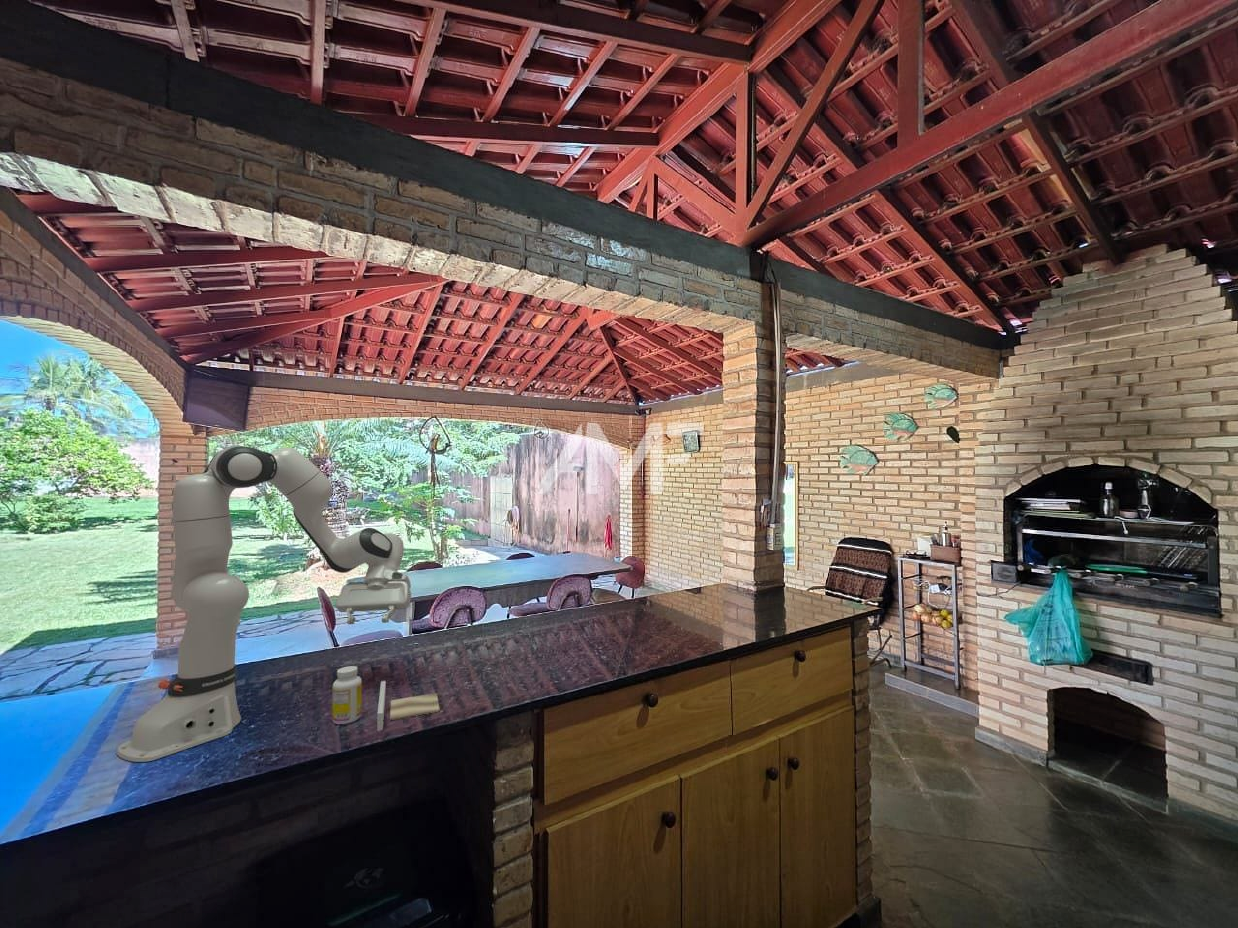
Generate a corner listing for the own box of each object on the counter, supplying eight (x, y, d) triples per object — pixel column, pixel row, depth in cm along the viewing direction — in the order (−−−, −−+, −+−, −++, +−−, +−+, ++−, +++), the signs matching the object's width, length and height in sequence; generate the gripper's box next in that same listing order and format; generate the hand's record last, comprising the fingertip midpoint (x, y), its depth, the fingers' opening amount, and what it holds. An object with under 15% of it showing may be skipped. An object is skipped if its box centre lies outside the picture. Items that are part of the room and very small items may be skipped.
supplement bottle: (354, 711, 131) (355, 662, 131) (365, 718, 127) (366, 668, 127) (327, 720, 126) (328, 669, 126) (338, 728, 121) (339, 675, 122)
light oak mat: (439, 712, 130) (439, 709, 130) (390, 721, 125) (390, 718, 125) (436, 694, 141) (436, 692, 141) (390, 702, 136) (391, 700, 136)
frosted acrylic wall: (382, 731, 120) (382, 712, 120) (377, 732, 119) (377, 713, 119) (385, 696, 140) (385, 680, 140) (380, 697, 139) (381, 681, 139)
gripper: (341, 576, 146) (325, 618, 136) (411, 574, 149) (401, 614, 139) (347, 588, 151) (332, 629, 141) (416, 585, 153) (406, 626, 143)
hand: (367, 622), depth 140 cm, fingers open, 8 cm apart
